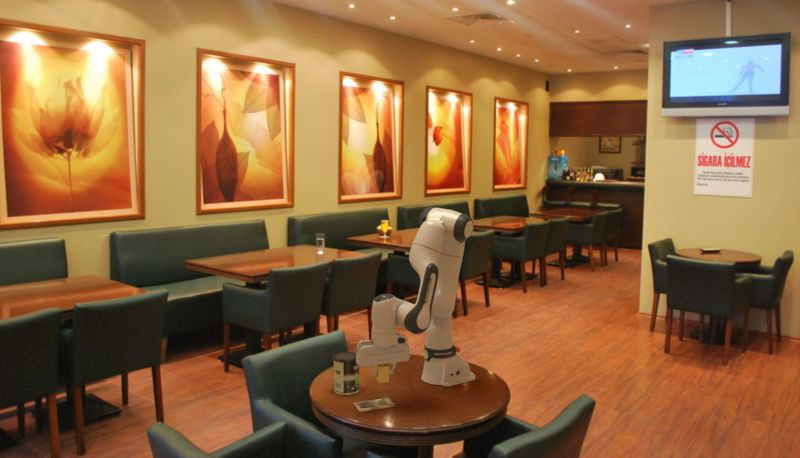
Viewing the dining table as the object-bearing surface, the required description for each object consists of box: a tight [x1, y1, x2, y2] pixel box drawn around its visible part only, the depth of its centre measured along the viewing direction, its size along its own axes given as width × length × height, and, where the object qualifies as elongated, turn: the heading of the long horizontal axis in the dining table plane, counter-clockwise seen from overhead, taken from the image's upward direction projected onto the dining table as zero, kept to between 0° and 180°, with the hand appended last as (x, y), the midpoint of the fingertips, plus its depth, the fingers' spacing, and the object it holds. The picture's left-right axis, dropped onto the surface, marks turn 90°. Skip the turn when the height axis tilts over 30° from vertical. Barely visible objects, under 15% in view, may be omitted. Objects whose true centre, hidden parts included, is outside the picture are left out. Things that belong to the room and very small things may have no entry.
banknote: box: [352, 397, 396, 413], centre depth 242 cm, size 14×7×1 cm, turn 112°
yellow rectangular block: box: [376, 363, 390, 384], centre depth 241 cm, size 4×4×6 cm
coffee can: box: [332, 351, 360, 396], centre depth 256 cm, size 10×10×14 cm
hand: (382, 374), depth 241 cm, fingers closed on yellow rectangular block, 4 cm apart
